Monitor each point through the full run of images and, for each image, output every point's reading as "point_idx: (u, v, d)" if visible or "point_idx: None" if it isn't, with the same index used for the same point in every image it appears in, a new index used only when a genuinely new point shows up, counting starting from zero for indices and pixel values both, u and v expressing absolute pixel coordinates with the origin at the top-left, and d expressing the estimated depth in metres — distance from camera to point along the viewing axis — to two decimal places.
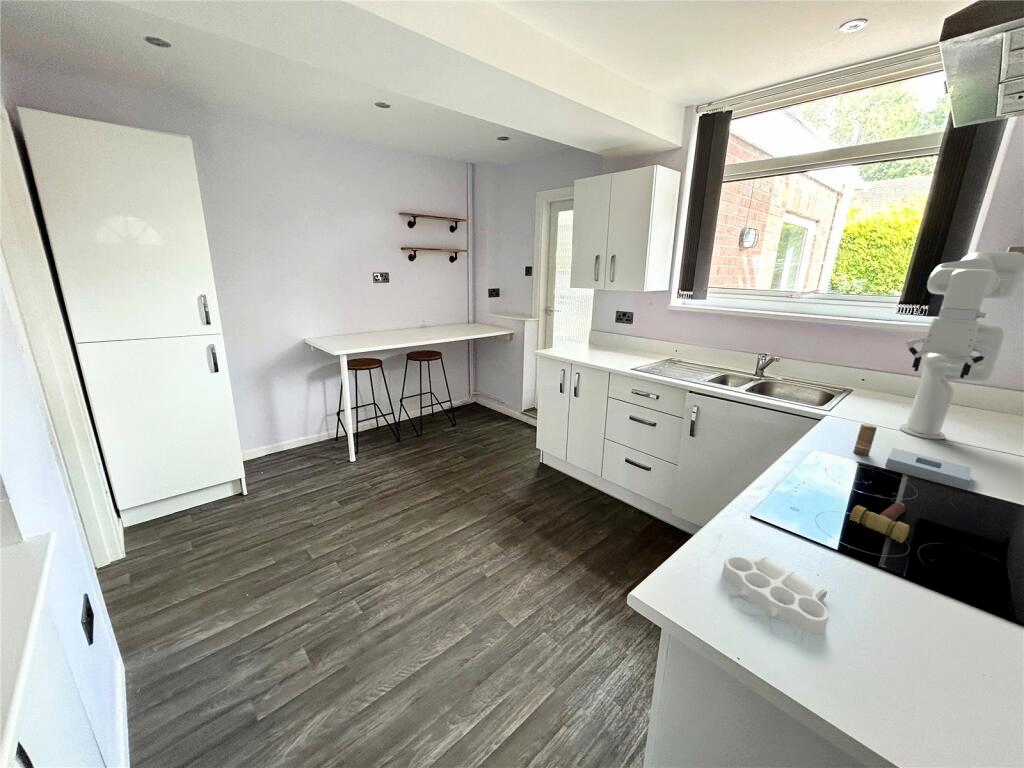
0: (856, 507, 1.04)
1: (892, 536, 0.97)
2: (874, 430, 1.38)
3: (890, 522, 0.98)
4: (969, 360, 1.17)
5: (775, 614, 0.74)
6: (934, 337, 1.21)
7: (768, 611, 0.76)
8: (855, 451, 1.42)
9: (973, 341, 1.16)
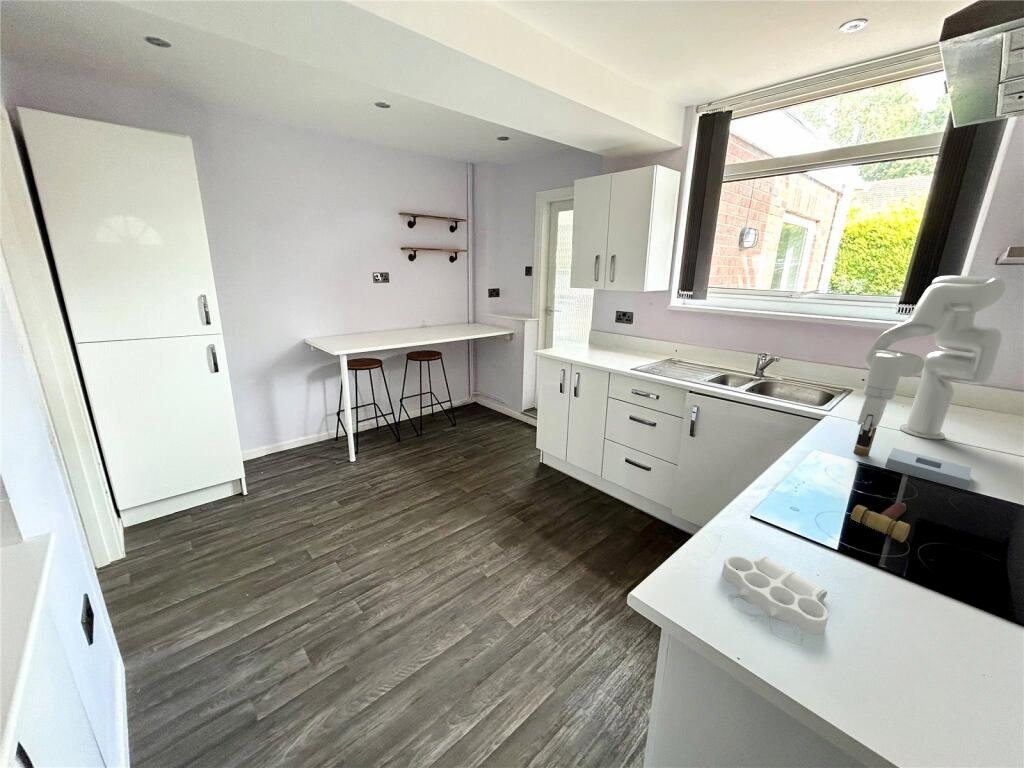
0: (857, 507, 1.04)
1: (893, 535, 0.98)
2: (874, 430, 1.38)
3: (891, 521, 0.99)
4: None
5: (774, 614, 0.75)
6: (880, 415, 1.34)
7: (767, 611, 0.76)
8: (855, 451, 1.42)
9: None
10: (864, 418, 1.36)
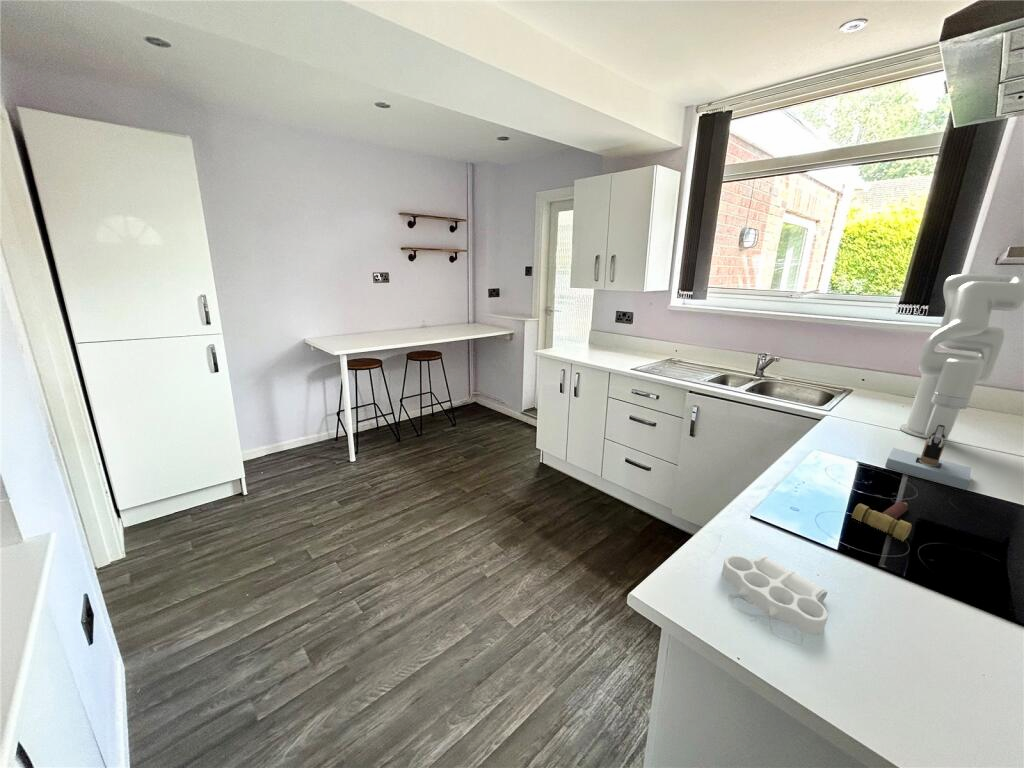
0: (858, 505, 1.04)
1: (894, 534, 0.98)
2: (942, 446, 1.27)
3: (892, 520, 0.99)
4: None
5: (773, 613, 0.75)
6: (953, 425, 1.23)
7: (767, 610, 0.76)
8: None
9: None
10: (934, 429, 1.24)
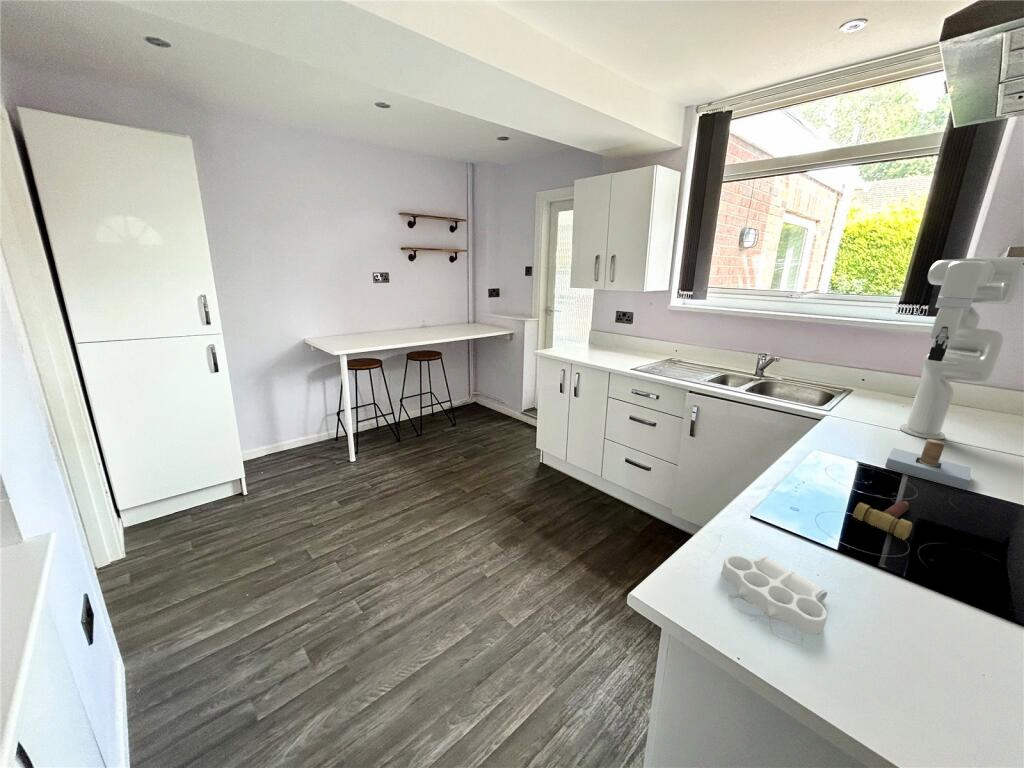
0: (859, 504, 1.04)
1: (895, 533, 0.98)
2: (942, 446, 1.27)
3: (893, 519, 0.99)
4: (948, 340, 1.35)
5: (773, 613, 0.75)
6: (956, 327, 1.27)
7: (766, 610, 0.76)
8: None
9: None
10: (938, 331, 1.29)
